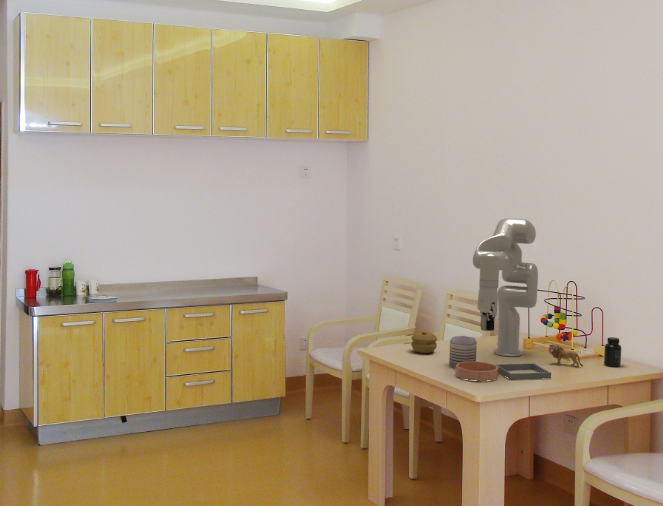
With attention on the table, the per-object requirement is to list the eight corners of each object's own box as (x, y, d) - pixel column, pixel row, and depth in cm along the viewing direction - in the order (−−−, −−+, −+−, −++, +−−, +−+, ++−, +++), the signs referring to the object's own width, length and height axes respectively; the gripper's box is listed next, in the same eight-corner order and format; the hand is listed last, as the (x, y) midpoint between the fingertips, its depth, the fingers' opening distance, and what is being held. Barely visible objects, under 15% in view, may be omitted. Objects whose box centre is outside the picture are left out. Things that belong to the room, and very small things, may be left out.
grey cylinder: (479, 328, 304) (479, 314, 303) (490, 328, 305) (491, 314, 304) (483, 331, 299) (484, 316, 298) (495, 331, 300) (496, 316, 299)
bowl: (450, 371, 310) (450, 361, 309) (488, 370, 313) (488, 360, 312) (464, 382, 293) (464, 372, 293) (504, 381, 296) (504, 370, 296)
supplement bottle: (619, 364, 327) (621, 337, 326) (621, 368, 321) (622, 340, 320) (603, 363, 329) (604, 336, 328) (604, 366, 323) (605, 339, 322)
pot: (441, 352, 345) (442, 331, 344) (426, 356, 336) (427, 334, 335) (421, 348, 353) (421, 327, 352) (405, 352, 344) (406, 330, 343)
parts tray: (494, 370, 314) (494, 364, 313) (534, 369, 317) (534, 363, 316) (509, 380, 298) (509, 374, 298) (550, 378, 301) (551, 372, 301)
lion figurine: (547, 365, 324) (548, 344, 323) (548, 362, 329) (549, 342, 328) (583, 368, 319) (584, 348, 318) (583, 366, 324) (584, 345, 323)
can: (479, 365, 322) (480, 338, 320) (470, 371, 312) (471, 342, 311) (454, 361, 327) (455, 334, 326) (444, 367, 318) (445, 339, 317)
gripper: (472, 281, 308) (470, 325, 309) (488, 287, 291) (486, 333, 293) (489, 281, 309) (487, 324, 311) (506, 286, 293) (504, 332, 294)
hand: (487, 328), depth 302 cm, fingers closed on grey cylinder, 5 cm apart
